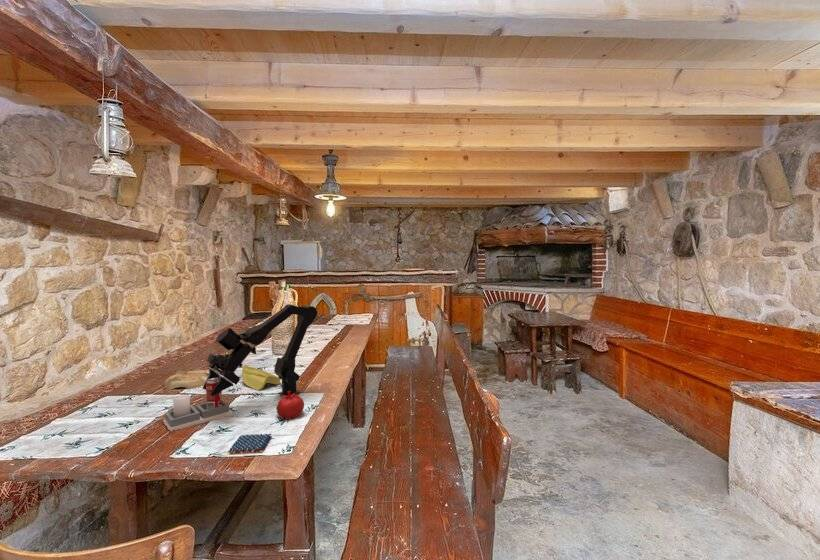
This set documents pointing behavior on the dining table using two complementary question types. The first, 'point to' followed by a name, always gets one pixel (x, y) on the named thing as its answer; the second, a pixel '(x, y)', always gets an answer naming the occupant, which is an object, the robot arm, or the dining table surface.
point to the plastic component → (258, 378)
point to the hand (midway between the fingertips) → (207, 392)
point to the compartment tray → (192, 413)
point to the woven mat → (250, 443)
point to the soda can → (216, 399)
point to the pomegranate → (290, 406)
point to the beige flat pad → (187, 379)
